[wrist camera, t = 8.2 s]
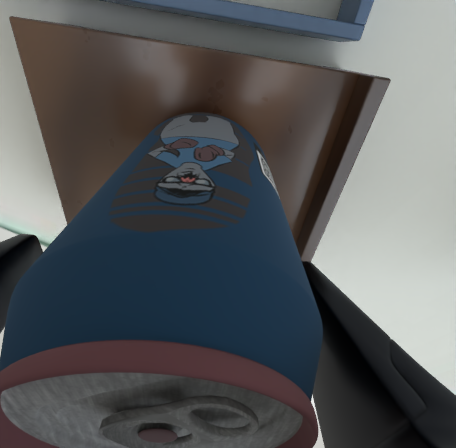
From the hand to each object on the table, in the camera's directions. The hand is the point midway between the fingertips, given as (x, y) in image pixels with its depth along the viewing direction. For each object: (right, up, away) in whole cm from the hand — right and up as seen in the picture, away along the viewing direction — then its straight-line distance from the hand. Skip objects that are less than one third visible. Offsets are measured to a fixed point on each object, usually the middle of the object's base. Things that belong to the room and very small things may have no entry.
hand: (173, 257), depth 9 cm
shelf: (0, +6, +9) cm, 11 cm away
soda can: (+1, +4, +6) cm, 7 cm away
